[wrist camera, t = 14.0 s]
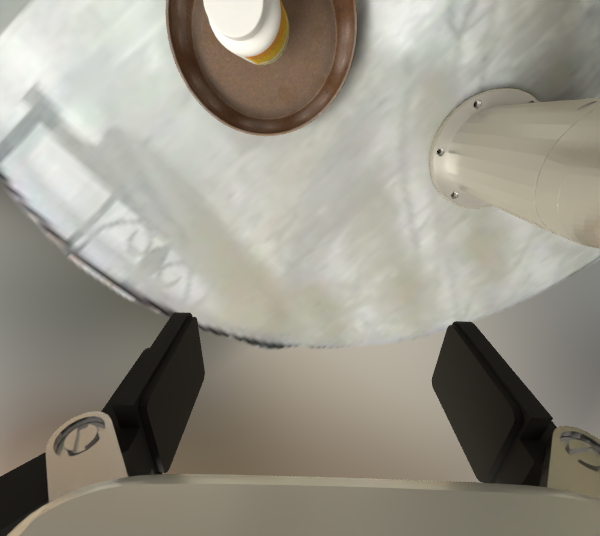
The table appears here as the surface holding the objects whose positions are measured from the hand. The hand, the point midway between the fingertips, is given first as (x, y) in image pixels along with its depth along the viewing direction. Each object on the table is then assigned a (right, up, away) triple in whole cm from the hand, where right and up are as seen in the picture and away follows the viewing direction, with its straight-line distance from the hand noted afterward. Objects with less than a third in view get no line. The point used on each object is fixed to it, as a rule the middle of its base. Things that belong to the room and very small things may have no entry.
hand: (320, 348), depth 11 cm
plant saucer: (-4, +26, +19) cm, 33 cm away
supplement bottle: (-4, +25, +16) cm, 30 cm away
